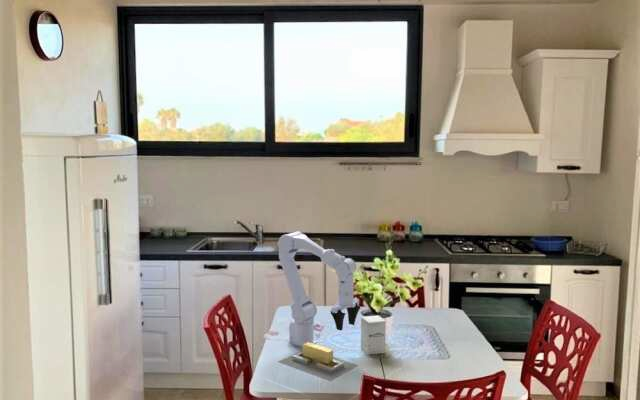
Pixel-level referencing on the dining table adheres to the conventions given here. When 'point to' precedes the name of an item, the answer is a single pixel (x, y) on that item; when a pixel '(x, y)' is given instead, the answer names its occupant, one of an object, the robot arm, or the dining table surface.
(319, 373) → the mat
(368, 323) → the supplement box
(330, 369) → the pair of white brackets
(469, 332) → the dining table surface
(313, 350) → the yellow gripped block
